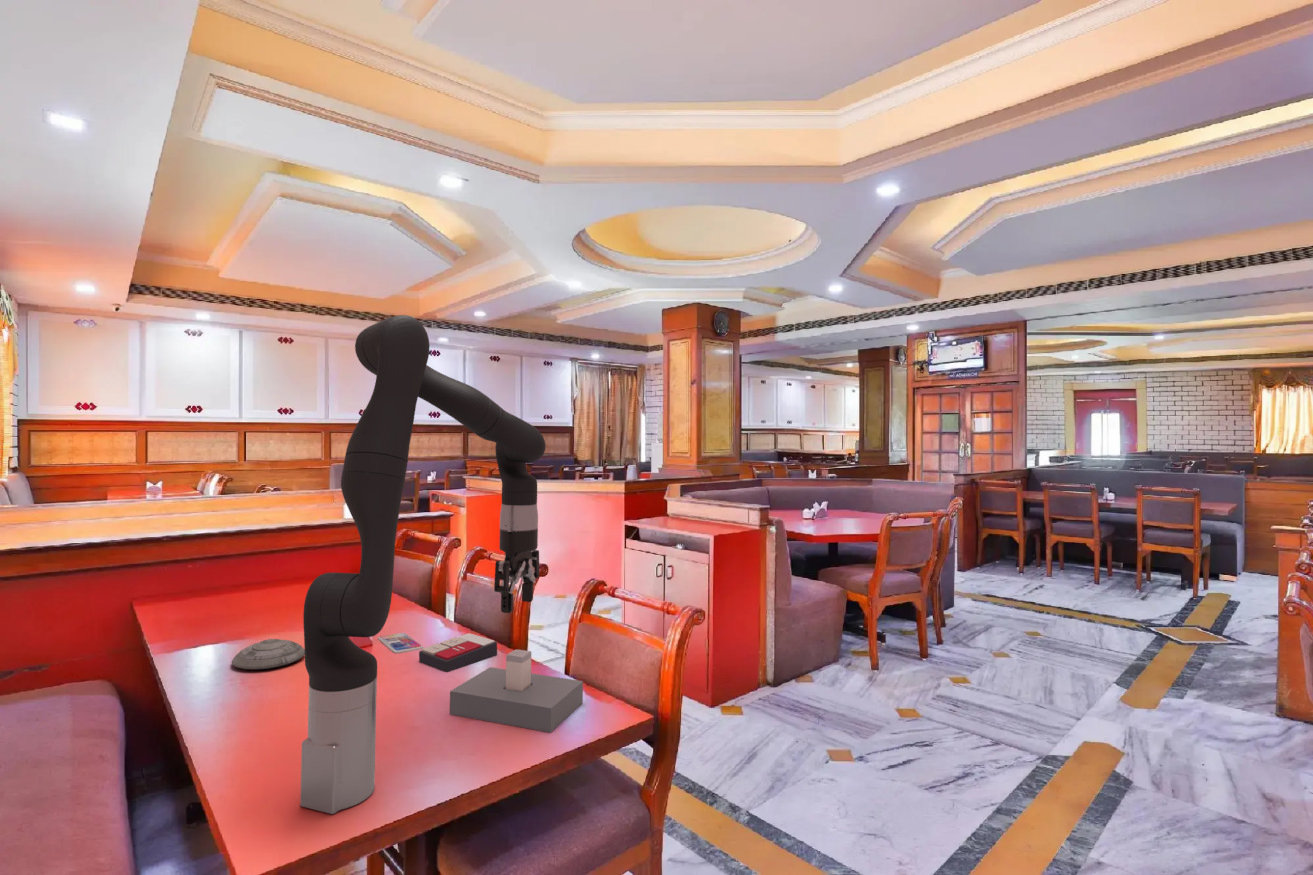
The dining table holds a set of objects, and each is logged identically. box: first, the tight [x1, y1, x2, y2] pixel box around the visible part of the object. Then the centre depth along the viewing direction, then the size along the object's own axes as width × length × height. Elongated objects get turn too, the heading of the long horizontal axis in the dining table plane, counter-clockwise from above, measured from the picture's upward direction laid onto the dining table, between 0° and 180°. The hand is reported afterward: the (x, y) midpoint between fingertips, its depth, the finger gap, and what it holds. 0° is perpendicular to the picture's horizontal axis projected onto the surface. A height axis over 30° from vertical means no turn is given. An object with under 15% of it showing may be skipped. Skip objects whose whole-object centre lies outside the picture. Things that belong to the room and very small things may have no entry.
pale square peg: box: [505, 649, 532, 692], centre depth 126 cm, size 4×4×11 cm
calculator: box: [418, 632, 498, 673], centre depth 154 cm, size 11×4×15 cm
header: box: [449, 666, 584, 733], centre depth 126 cm, size 14×22×4 cm, turn 72°
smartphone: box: [377, 632, 424, 654], centre depth 164 cm, size 7×1×15 cm
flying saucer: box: [231, 638, 305, 670], centre depth 149 cm, size 15×15×6 cm
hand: (517, 606), depth 127 cm, fingers open, 8 cm apart
